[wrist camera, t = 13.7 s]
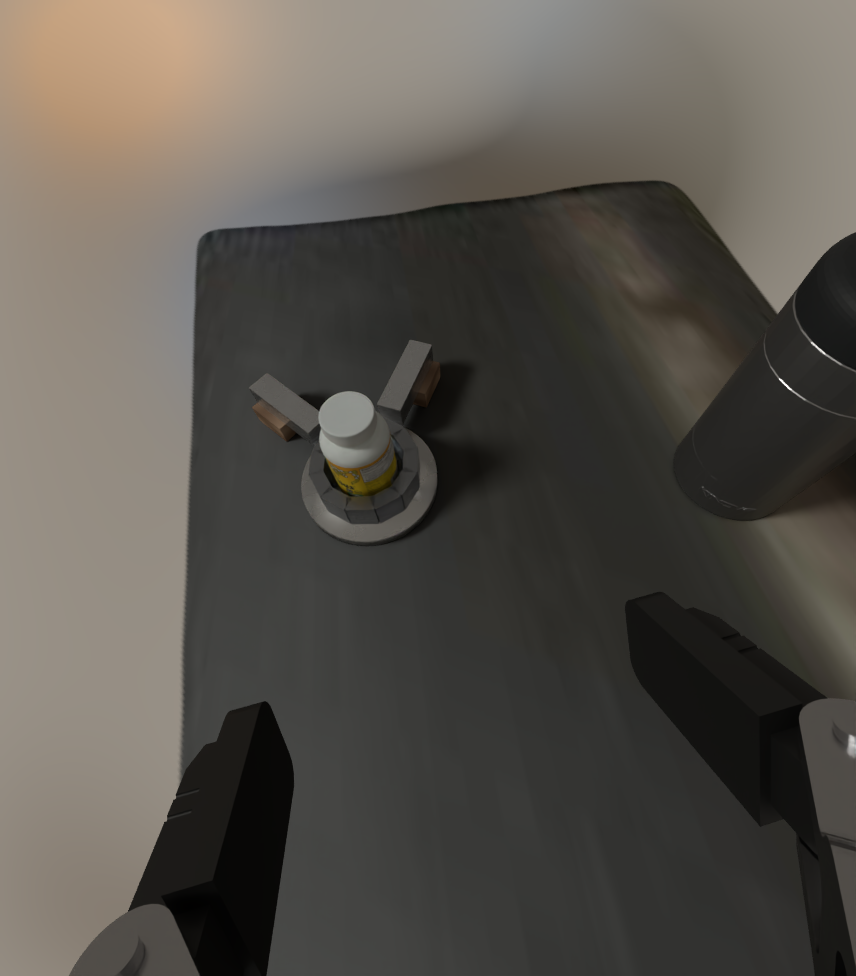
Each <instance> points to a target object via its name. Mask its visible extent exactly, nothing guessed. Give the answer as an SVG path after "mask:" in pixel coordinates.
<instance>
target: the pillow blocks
mask: <svg viewBox="0 0 856 976" xmlns="http://www.w3.org/2000/svg"><path fill="white" fill-rule="evenodd" d="M439 379H440V363H438V362H434V361H433V362H432V364H431V367H430V369H429V371H428V373H427V375H426V377H425V379H424V381H423V384H422V386H421V388H420V390H419V392H418V394H417V396H416V398H415V400H414V403H413V404H415V405H419V406H422V407H426V408H427V406H428V403H429V401H430V399H431V397H432V395H433V392H434V390H435V388H436V386H437V384H438V381H439ZM252 408H253V410H254V412H255V413H256V415H257V416H258V418H259V420H260V421H261V422H263V423H264V424H265V425H266V426H268V427H269V428H270V429H271V430H273V431H274V432H275V433H277V434H278V435H279V436H280V437H282V438H283V439H284V440H285V441H288V440H289V439H290V438H292V437H293V436H294V435H295V434H296V432H295V431H293V430H292V429H291V428H290V427H288V426H287V425H286V424H284V423H283V422H282V421H280V420H279V419H278V418H277V417H275V416H274V415H273V414H271V413H270V412H269V411H268V410H266V409H265V408H264V407H262V406H261V405H260V404H259V403H257V404H256V405H254V406H253V407H252Z"/></svg>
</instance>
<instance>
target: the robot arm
mask: <svg viewBox="0 0 856 976" xmlns="http://www.w3.org/2000/svg"><path fill="white" fill-rule="evenodd" d="M855 453H856V233H853V234H851V235H849V236H847V237H845V238H844V239H842V240H840V241H839V242H838V243H836V244H835V245H834V246H832V247H831V248H830V249H829V250H828V251H827V252H826V253H825V254H824V255H823V256H822V257H821V259H820V260H819V261H818V262H817V263H816V264H815V266H814V267H813V269H812V270H811V271H810V272H809V274H808V275H807V276H806V278H805V279H804V280H803V282H802V283H801V285H800V286H799V287H798V289H797V290H796V291H795V292H794V294H793V295H792V296H791V298H790V299H789V300H788V302H787V303H786V304H785V306H784V307H783V308H782V310H781V311H780V312H779V313H778V315H777V316H776V317H775V319H774V320H773V321H772V323H771V324H770V326H769V327H768V328H767V330H766V331H765V332H764V334H763V335H762V336H761V338H760V339H759V340H758V342H757V343H756V344H755V346H754V347H753V348H752V350H751V351H750V352H749V354H748V355H747V356H746V357H745V359H744V360H743V361H742V363H741V364H740V365H739V367H738V368H737V369H736V371H735V372H734V373H733V375H732V376H731V377H730V379H729V380H728V381H727V383H726V384H725V385H724V387H723V388H722V389H721V391H720V392H719V393H718V394H717V396H716V397H715V398H714V400H713V401H712V402H711V404H710V405H709V406H708V408H707V409H706V410H705V412H704V413H703V414H702V416H701V417H700V418H699V419H698V421H697V422H696V423H695V425H694V426H693V427H692V429H691V430H690V431H689V433H688V434H687V435H686V437H685V438H684V439H683V441H682V442H681V443H680V445H679V446H678V448H677V450H676V453H675V457H674V469H675V474H676V477H677V479H678V482H679V484H680V485H681V487H682V488H683V490H684V491H685V493H686V494H687V495H688V496H689V497H690V498H691V499H692V500H693V501H694V502H696V503H697V504H698V505H700V506H701V507H702V508H704V509H706V510H708V511H709V512H711V513H713V514H716V515H719V516H721V517H724V518H728V519H734V520H754V519H758V518H762V517H765V516H767V515H769V514H771V513H772V512H774V511H775V510H777V509H778V508H779V507H781V506H782V505H784V504H785V503H786V502H788V501H789V500H791V499H792V498H793V497H795V496H796V495H798V494H799V493H801V492H802V491H804V490H805V489H806V488H808V487H809V486H810V485H812V484H813V483H815V482H816V481H817V480H819V479H820V478H822V477H823V476H824V475H826V474H827V473H829V472H830V471H831V470H833V469H834V468H836V467H837V466H838V465H840V464H841V463H843V462H844V461H845V460H847V459H848V458H850V457H851V456H852V455H854V454H855ZM625 613H626V623H627V632H628V641H629V650H630V659H631V663H632V667H633V669H634V672H635V674H636V676H637V678H638V680H639V682H640V684H641V685H642V686H643V688H644V689H645V690H646V691H647V693H648V694H649V695H650V696H651V697H652V699H653V700H654V701H655V702H656V703H657V704H658V706H659V707H660V708H661V709H662V710H663V712H664V713H665V714H666V715H667V716H668V718H669V719H670V720H671V721H672V722H673V724H674V725H675V726H676V727H677V728H678V729H679V731H680V732H681V733H682V734H683V735H684V737H685V738H686V739H687V740H688V741H689V743H690V744H691V745H692V746H693V747H694V748H695V750H696V751H697V752H698V753H699V754H700V756H701V757H702V758H703V759H704V760H705V762H706V763H707V764H708V765H709V766H710V767H711V769H712V770H713V771H714V772H715V773H716V775H717V776H718V777H719V778H720V779H721V781H722V782H723V783H724V784H725V785H726V786H727V788H728V789H729V790H730V791H731V792H732V794H733V795H734V796H735V797H736V798H737V800H738V801H739V802H740V803H741V804H742V805H743V807H744V808H745V809H746V810H747V811H748V813H749V814H750V815H751V816H752V817H753V819H754V820H755V821H756V822H757V823H758V824H759V826H760V827H761V826H764V825H767V824H770V823H773V822H776V821H779V820H782V819H784V820H785V821H786V822H787V823H788V824H789V825H790V826H791V827H792V829H793V830H794V831H795V832H796V847H797V854H798V861H799V867H800V874H801V881H802V888H803V895H804V902H805V909H806V916H807V923H808V930H809V937H810V944H811V950H812V957H813V965H814V973H815V976H856V701H852V700H847V699H832V698H829V699H828V698H826V697H825V696H824V695H822V694H821V693H820V692H818V691H817V690H816V689H814V688H813V687H812V686H810V685H809V684H808V683H806V682H805V681H804V680H802V679H801V678H800V677H798V676H797V675H796V674H794V673H793V672H792V671H790V670H789V669H788V668H786V667H785V666H783V665H782V664H781V663H779V662H778V661H777V660H775V659H774V658H773V657H771V656H770V655H769V654H767V653H766V652H765V651H763V650H762V649H758V648H757V646H756V645H755V644H754V643H753V642H751V641H750V640H749V639H747V638H746V637H745V636H741V635H740V634H739V632H738V631H736V630H735V629H734V628H732V627H731V626H730V625H728V624H727V623H726V622H724V621H723V620H722V619H720V618H719V617H716V616H714V615H711V614H709V613H706V612H704V611H701V610H699V609H696V608H689V609H686V610H685V609H684V608H683V607H681V606H680V605H679V604H678V603H676V602H675V601H674V600H673V599H671V598H670V597H669V596H667V595H666V594H665V593H663V592H657V593H653V594H650V595H646V596H642V597H639V598H635V599H632V600H628V601H627V602H626V605H625ZM293 790H294V772H293V765H292V760H291V757H290V754H289V751H288V749H287V746H286V744H285V741H284V739H283V736H282V734H281V731H280V729H279V726H278V724H277V721H276V718H275V716H274V713H273V711H272V709H271V706H270V705H269V704H268V702H266V701H264V702H260V703H257V704H253V705H250V706H246V707H242V708H239V709H235V710H232V711H229V712H228V713H227V715H226V717H225V720H224V722H223V725H222V728H221V731H220V733H219V736H218V739H217V742H213V743H210V744H206V745H205V746H204V747H203V748H202V750H201V751H200V752H199V753H198V755H197V756H196V757H195V759H194V760H193V761H192V762H191V764H190V765H189V766H188V767H187V769H186V771H185V773H184V776H183V778H182V781H181V783H180V786H179V788H178V790H177V793H176V799H175V800H173V803H172V805H171V808H170V810H169V812H168V815H167V822H164V825H163V827H162V830H161V832H160V835H159V837H158V839H157V842H156V845H155V847H154V849H153V852H152V854H151V856H150V859H149V862H148V864H147V866H146V869H145V871H144V874H143V877H142V879H141V881H140V883H139V886H138V888H137V891H136V893H135V895H134V898H133V901H132V903H131V905H130V908H129V910H128V912H127V913H125V914H124V915H122V916H121V917H119V918H118V919H116V920H115V921H114V922H112V923H111V924H110V925H109V926H107V927H106V928H105V929H104V930H103V931H102V932H101V933H100V934H99V935H98V936H97V937H96V938H95V939H94V940H93V941H92V942H91V944H90V945H89V946H88V947H87V949H86V950H85V951H84V953H83V954H82V955H81V957H80V958H79V960H78V961H77V963H76V964H75V966H74V967H73V969H72V971H71V973H70V975H69V976H266V974H267V968H268V961H269V954H270V947H271V940H272V934H273V927H274V920H275V913H276V906H277V899H278V893H279V886H280V879H281V872H282V865H283V859H284V852H285V845H286V838H287V831H288V824H289V818H290V811H291V804H292V797H293Z"/></svg>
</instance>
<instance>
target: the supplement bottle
mask: <svg viewBox="0 0 856 976" xmlns="http://www.w3.org/2000/svg"><path fill="white" fill-rule="evenodd" d="M318 418H319V423H320V426H321V431H320V436H319V443H320V447H321V450H322V452H323V455H324V457H325V459H326V461H327V463H328V465H329V467H330V469H331V471H332V473H333V475H334V477H335V479H336V481H337V483H338V486H339V488H340V489H341V491H342V493H344V494H346V495H348V496H350V497H356V496H373V495H375V494H377V493H379V492H381V491H383V490H385V489H387V488H389V487H390V486H392V484H393V483H394V481H395V480H396V479H397V477H398V476H399V470H398V464H397V460H396V456H395V452H394V448H393V443H392V439H391V435H390V431H389V427H388V425H387V423H386V421H385V419H384V418H383V417H382V416H381V415H380V414H379V413H378V412H376V411H375V409H374V406H373V404H372V402H371V401H370V399H369V398H367V397H366V396H365V395H363V394H361V393H358V392H350V391H349V392H342V393H338V394H336V395H334V396H332V397H330V398H329V399H328V400H326V401H325V402H324V404H323V405H322V407H321V408H320V411H319V416H318Z"/></svg>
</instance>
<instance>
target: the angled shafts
mask: <svg viewBox="0 0 856 976" xmlns="http://www.w3.org/2000/svg"><path fill="white" fill-rule="evenodd" d="M432 362H433V353H432V345H430V344H426V343H422V342H418V341H414V340H410V341H409V343H408V345H407V347H406V349H405V351H404V353H403V355H402V357H401V359H400V361H399V362H398V364H397V366H396V368H395V370H394V372H393V374H392V376H391V378H390V380H389V382H388V384H387V386H386V388H385V390H384V392H383V394H382V396H381V398H380V400H379V402H378V403H377V407H378V411H379V414H380V415H381V416H382V417H384V418H386V419H388V420H390V421H392V422H395V423H397V424H399V425H403V424H404V422H405V420H406V417H407V415H408V413H409V411H410V409H411V407H412V405H413V403H414V400H415V398H416V396H417V394H418V392H419V390H420V388H421V386H422V384H423V381H424V379H425V377H426V375H427V373H428V371H429V369H430V367H431V364H432ZM249 389H250V391H251V393H252V394H253V396H254V398H255V399H256V401H257V403H259V404H260V405H261V406H262V407H264V408H265V409H266V410H268V411H269V412H270V413H271V414H273V415H274V416H275V417H277V418H278V419H279V420H280V421H282V422H283V423H284V424H286V425H287V426H288V427H290V428H291V429H292V430H293V431H295V432H296V433H297V434H299V435H300V436H301V437H302V438H304V439H305V440H306V441H308V442H309V443H310V444H312V445H313V446H315V445H316V444H317V443H318V441H319V436H320V431H321V426H320V423H319V418H318V416H319V411H318V410H317V409H315V408H314V407H313V406H311V405H310V404H309V403H307V402H306V401H304V400H303V399H302V398H300V397H299V396H298V395H296V394H295V393H294V392H292V391H291V390H289V389H288V388H287V387H285V386H284V385H283V384H281V383H280V382H279V381H277V380H276V379H274V378H273V377H272V376H270V375H269V374H268V373H266V374H265V375H264V376H263V377H261V378H260V379H259V380H258V381H257V382H255V383H254V384H253V385H252V386H250V387H249Z"/></svg>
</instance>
